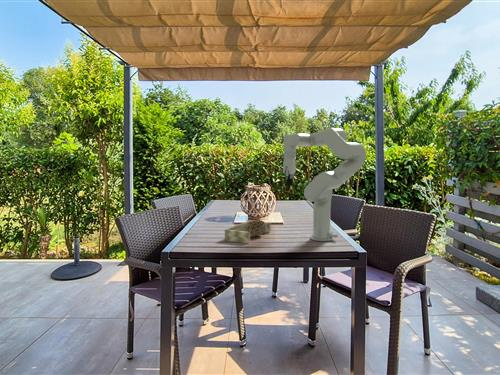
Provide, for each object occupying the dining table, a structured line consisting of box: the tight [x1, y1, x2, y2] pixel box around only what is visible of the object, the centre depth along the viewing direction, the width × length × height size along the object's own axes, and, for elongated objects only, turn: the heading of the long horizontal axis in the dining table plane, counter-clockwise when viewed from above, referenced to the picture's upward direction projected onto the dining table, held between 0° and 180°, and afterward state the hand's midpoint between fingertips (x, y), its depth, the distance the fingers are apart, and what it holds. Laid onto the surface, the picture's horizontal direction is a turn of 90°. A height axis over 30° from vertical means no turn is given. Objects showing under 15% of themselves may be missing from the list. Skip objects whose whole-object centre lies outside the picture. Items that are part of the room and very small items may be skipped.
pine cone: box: [232, 219, 266, 238], centre depth 189 cm, size 22×10×10 cm, turn 115°
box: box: [224, 220, 272, 244], centre depth 191 cm, size 16×28×6 cm, turn 152°
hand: (289, 185), depth 198 cm, fingers closed
